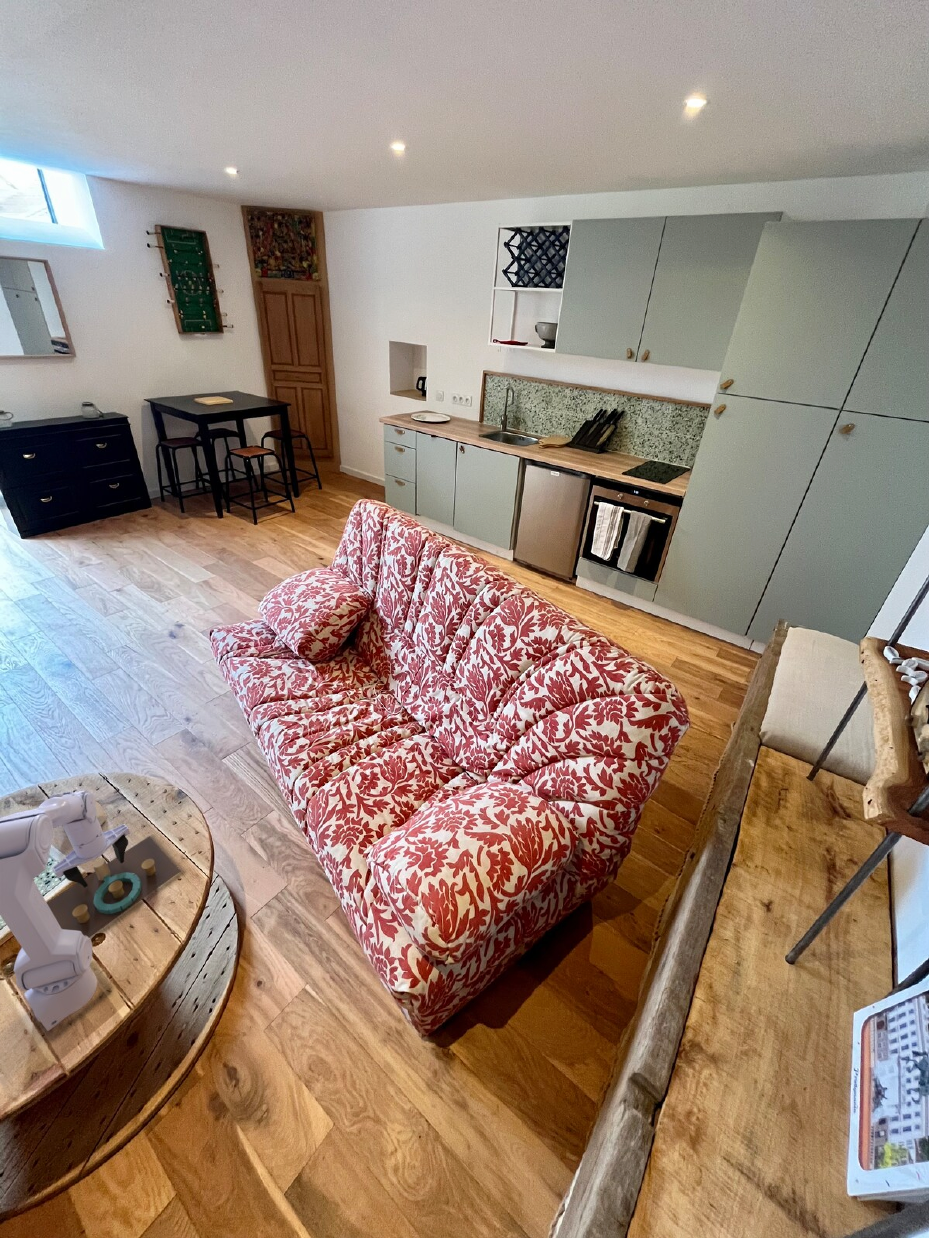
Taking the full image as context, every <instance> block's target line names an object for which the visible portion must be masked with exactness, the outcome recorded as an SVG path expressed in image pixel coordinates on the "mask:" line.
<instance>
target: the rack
mask: <svg viewBox="0 0 929 1238" xmlns="http://www.w3.org/2000/svg"><path fill="white" fill-rule="evenodd" d="M106 863H107V866H108V868H109V870H110V872H111V875H110V877H113V876H115V875H117V874H121V873H126V872H128V873H134V874H136V875H137V876H138V878H139V879H140V881H141V884H142V885H141V892H140V894H139V895H138V897H137V898H136V900H135V901H134V902H133V901H132V902H133V903H132V904H131V905H129V906H128V907H127V908H125V909H124V910H123V909H122V911H119V912H116V913H113V914H105V913H100V912H99V911H98V910H97V908H96V907H95V905H94V902H93V901H94V896H95V893H96V891H97V890H98V889H99V887H100V886H101V885H102V884H104V882H105V881H104V880H102V881H101V880H99V879H98V876H97V874H96V872H95V871H93V872H92V873H90V874H89V875H87V876H85V877H83V878H84V880H85V881H86V883H87V884H88V886H87V887H85V888H84V887H83V886H82V885H81V884H80V883H78V882H75V884H73V885H72V886H70V887H69V888H67V889H66V890H64V891H63V892H61V893H60V894H58V895H59V896H58V895H56V896H54V897H53V898H54V899H53V898H52V899H50V900H49V901H46V903H47V904H48V906H49V908H50V910H51V911H52V913H53V915H54V917H55V918H56V920H57V922H58V923H59V925H60V927H61V929H65V930H76V931H81V932H82V934H83V935H84V936H88V938H90V939H91V937H92V936H94V935H95V934H97V933H98V932H100V931H101V930H102V929H104V927H107V925H109V924H111V923H112V922H113V921H114V920H116V919H117V918H119V917H120V916H122V915H123V914H124V913H125V912H127V911H128V910H129V909H131V908H133V906H135V905H136V904H138V903H139V902H140V901H142V900H143V899H145V898H146V897H147V896H149V895H150V894H152V893H153V892H154V891H156V890H157V889H158V888H160V887H161V886H162V885H164V884H165V883H166V882H168V881H169V880H171V879H173V877H175V876H176V875H177V874H179V873H181V869H180V868H179V867H178V866H177V865H176V864H175V862H173V860H172V859H171V858H170V857H169V856H168V855H167V853H166V852H164V850H163V849H162V848H161V847H160V846H159V845H158V844H157V842H156V841H155V840H154V839H153V838H152V837H151V836H147V837H146V838H144V839H143V840H141V841H140V842H137V844H135V845H134V846H132V847H130V848H129V849H128V850H127V849H126V850H125V854H124V862H123V863H122V864H121V863H120V862H119V860H118V859H117V857H115V858H114V859H112V860H110V861H109V862H106ZM132 888H133V884H132V883H131V882H126V881H124V882H121V881H115V882H113V883H111V884H110V886H109V889H108V891H107V892H106V893H105V895H104V897H103V902H104V903H105V904H114V903H118V902H120V901H122V900H123V899H125V898H126V897H127V896H128V895H129V894H130V892H131V891H132Z"/></svg>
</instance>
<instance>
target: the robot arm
mask: <svg viewBox="0 0 929 1238" xmlns="http://www.w3.org/2000/svg"><path fill="white" fill-rule="evenodd" d="M95 801H96V799H95V794H94V792H92V791H89V790H87V789H86V790H85V789H84V790H80V791H72V790H70V791H64V792H58V793H53V794H51V795H50V798H47V799H45V800H44V801H43V802H42V803H41V804H40V805H38V807H37V808H34V809H33V808H32V809H27V810H24V811H19V812H15V813H11V814H8V815H5V816H2V817H0V917H1V918H2V920H3V922H4V923H5V925H6V926H7V928H8V929H9V930H10V932H11V933H12V935H13V936H14V938H15V940H16V941H17V942H18V944H19V945H20V947H21V948H20V949H19V952H18V953H17V956H16V959H15V961H14V966H13V973H14V975H15V980H16V986H17V988H19V989H20V991H22V992H24V993H23V995H24V998H25V999H26V1001H27V1003H28V1005H29V1007H30V1008H31V1010H32V1012H33V1013H34V1017H35V1019H36V1020H37V1021H38V1023H41V1025H42V1026H43V1027H44V1029H45V1030H46V1031H47V1032H49V1031H51V1030H52V1029H54V1028H55V1027H56V1026H57V1025H58V1024H60V1023H61V1022H62V1021H63V1020H65V1019H66V1018H68V1017H69V1016H71V1015H72V1014H74V1013H76V1012H77V1011H79V1010H81V1009H82V1008H83V1007H85V1006H86V1005H87V1004H89V1002H90V1001H91V1000H92V998H93V996H94V995H95V993H96V991H97V988H98V979H97V976H96V975H95V973H94V971H93V970H92V968H91V963H92V960H93V942H92V940H91V937H90V938H88V936H84V935H83V934H82V932H81V931H76V930H65V929H61V927H60V925H59V923H58V922H57V920H56V918H55V917H54V915H53V913H52V911H51V910H50V908H49V906H48V904H47V901H46V900H45V897H44V896H43V894H42V892H41V890H40V889H39V886H37V884H36V881H35V880H34V879H36V878H37V877H38V876H39V875H40V874H43V872H45V871H46V869H47V864H48V861H49V857H50V853H51V852H50V851H51V845H52V841H53V838H54V829H56V828H59V827H61V826H62V828H63V830H64V832H65V835H66V836H67V838H68V840H69V842H70V845H71V847H72V849H73V850H72V851H70V852H69V854H67V855H66V856H65V857H64V858H63V859H61V860H60V861H59V862H58V863H56V864H55V865H54V866H53V867H51V870H52V871H53V873H54V875H55V876H56V878H57V879H60V878H61V877H63V876H64V877H65V878H66V879H67V880H68V881H69V882H74V883H80V884H81V885H82V886H83V887H84V888H85V887H87V886H88V884H87V883H86V881H85V880H84V878H85V877H84V876H83V873H82V872H81V870H80V869H79V867H78V866H80V865H83V864H87V863H88V862H91V861H95V860H97V859H99V858H100V857H101V856H102V855H103V854H104V853H105V852H107V851H108V850H109V849H110V848H111V847H112V849H113V852H114V855H115V858H117V859H118V860H119V862H120V863H121V864H122V863H123V862H124V854H125V852H126V851H127V847H128V846H129V839H128V838H127V836H128V835H130V834H131V831H130V829H129V827H128V826H127V825H126V824H125V823H122V824H121V825H119V826H117V827H115V828H112V829H109V830H107V831H103V828H102V825H101V826H100V824H99V821H98V819H97V817H96V814H97V808H96V806H95Z"/></svg>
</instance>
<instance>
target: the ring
mask: <svg viewBox="0 0 929 1238" xmlns="http://www.w3.org/2000/svg"><path fill="white" fill-rule="evenodd" d="M107 863H108V862H106V859H105V858H104V857H98V858H96V859H94V860H93V862H92V864H91V865H92V868H93V871H94V872H96V874H97V876H98V879H99V880H101V881H102V880H104V881H105V882H104V884H102V885H101V886H100V887H99V889H98V890H97V891H96V893H95V896H94V901H93V902H94V905H95V907H96V908H97V910H98V911H99V912H100V913H105V914H113V913H116V912H119V911H122V909H123V910H124V909H125V908H127V907H128V906H129V905H131V904H132V903H133V902H134V901H135V900H136V898H137V897H138V895H139V894H140V892H141V885H142V884H141V881H140V879H139V878H138V876H137V875H136V874H134V873H128V872H126V873H121V874H117V875H115V876H113V877H110V875H111V872H110V870H109V868H108V866H107ZM115 881H121V882H124V881H126V882H131V883H132V884H133V888H132V891H131V892H130V894H129V895H128V896H127V897H126V898H125V899H123V900H122V901H120V902H118V903H114V904H105V903H104V902H103V897H104V895H105V893H106V892H107V891H108V889H109V886H110V884H111V883H113V882H115ZM132 901H133V902H132Z"/></svg>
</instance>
